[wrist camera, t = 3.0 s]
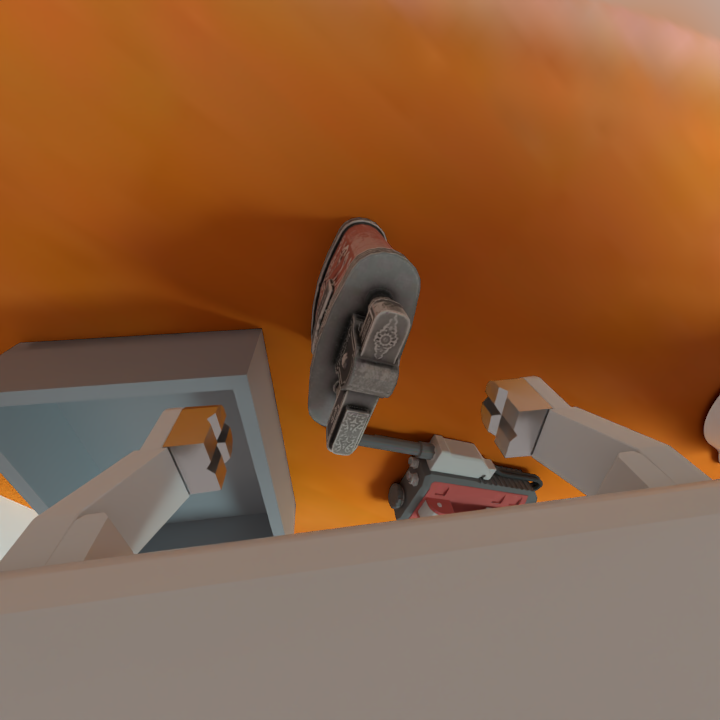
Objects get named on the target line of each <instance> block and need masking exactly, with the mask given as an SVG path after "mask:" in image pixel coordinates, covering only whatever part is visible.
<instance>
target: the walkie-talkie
mask: <svg viewBox="0 0 720 720" xmlns="http://www.w3.org/2000/svg"><path fill="white" fill-rule="evenodd" d="M358 445H359V446H364V447H370V448H376V449H382V450H387V451H393V452H399V453H405V454H410V455H415V456H414V457H410V458H409V461H408V464H411V465H409V466H410V467H409V469H408V470H407V472H406V474H405V475H404V477H403V479H402V480H401V482H400V484H398V483H394V484H392V486H391V487H390V490H389V496H388V498H389V504H390V506H391V508H393V509H394V511H395V516H396V520H405V519H413V518H420V517H428V516H436V515H444V514H451V513H459V512H467V511H475V510H482V509H490V508H498V507H506V506H513V505H521V504H529V503H536V501H537V496H536V494H535V491H536V490H538V489H539V488H540V487H542V485H543V483H542V481H541V480H540V478H539V477H538V476H536V475H535V474H529V473H523V472H522V471H521V469H520V470H517V469H512V468H507V467H503V466H500V467H499V466H498V465H494V464H493V463H492V461H491V460H490V459H485V458H483V457H482V455H481V454H480V452H479V451H478V449H477V448H476V446H475V445H474V444H472V443H467V442H462V441H457V440H452V439H447V438H443V436H440V435H434V436H433V437H432V439H431V440H430V442H429V443H427V442H422V441H418V442H413V441H408V440H403V439H397V438H392V437H387V436H381V435H376V434H375V435H374V436H373V435H368V434H363V435H362V438H361V440H360V442H359V444H358ZM528 481H533V482H532V483H529V482H528Z"/></svg>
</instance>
